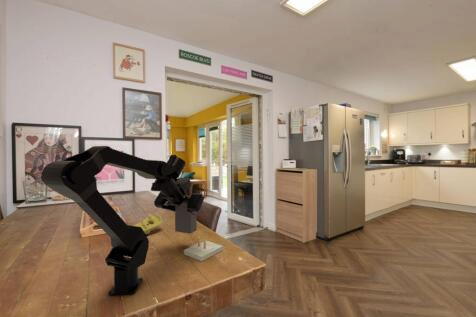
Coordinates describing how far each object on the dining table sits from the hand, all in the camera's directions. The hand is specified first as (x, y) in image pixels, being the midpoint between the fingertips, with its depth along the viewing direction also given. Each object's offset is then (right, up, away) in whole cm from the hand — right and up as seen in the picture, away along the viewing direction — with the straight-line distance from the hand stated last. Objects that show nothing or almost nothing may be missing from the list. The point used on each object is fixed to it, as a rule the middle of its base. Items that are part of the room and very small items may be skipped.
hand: (188, 212), depth 85 cm
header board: (+7, -13, -6) cm, 16 cm away
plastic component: (-25, -13, +13) cm, 32 cm away
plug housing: (-1, -7, -1) cm, 7 cm away
